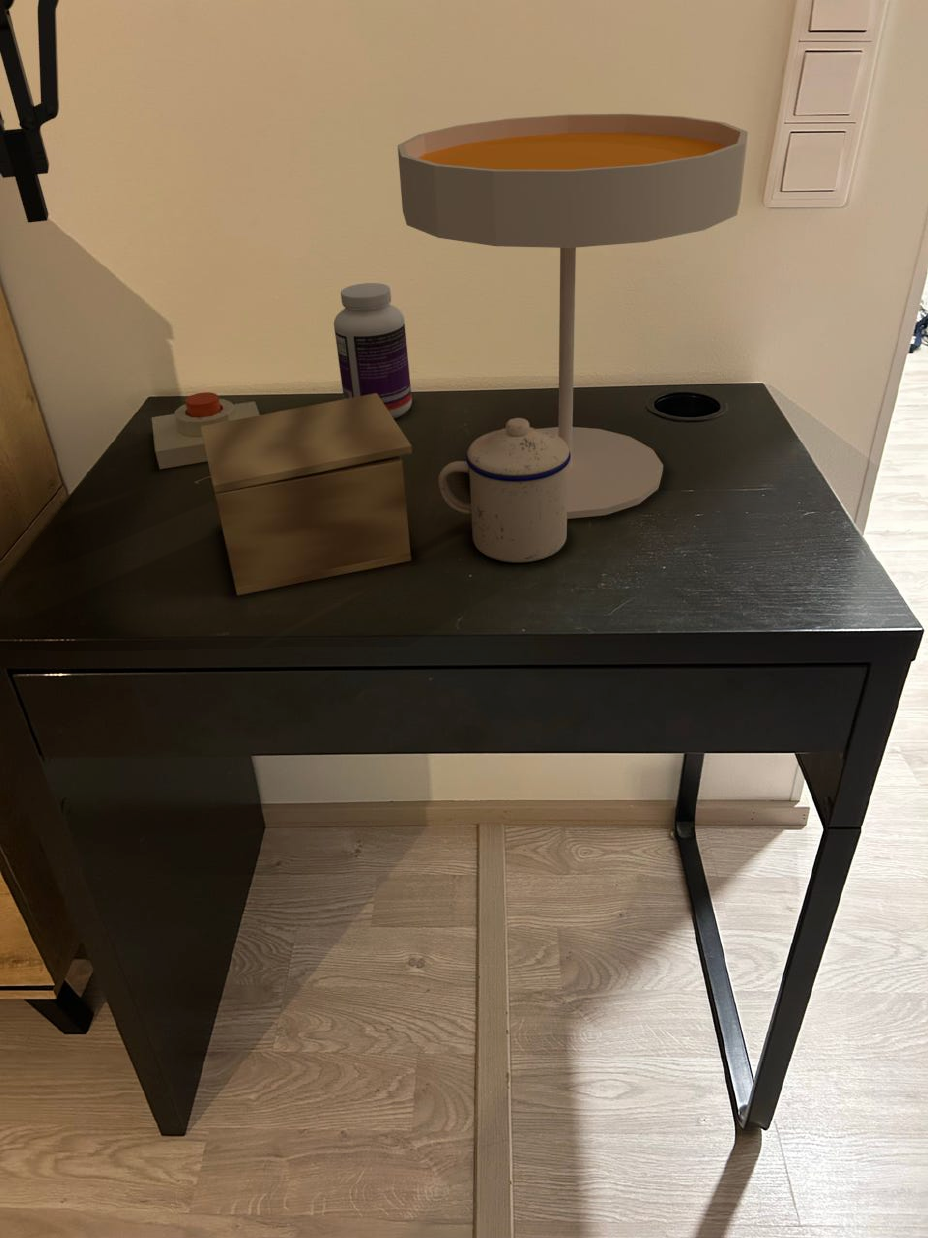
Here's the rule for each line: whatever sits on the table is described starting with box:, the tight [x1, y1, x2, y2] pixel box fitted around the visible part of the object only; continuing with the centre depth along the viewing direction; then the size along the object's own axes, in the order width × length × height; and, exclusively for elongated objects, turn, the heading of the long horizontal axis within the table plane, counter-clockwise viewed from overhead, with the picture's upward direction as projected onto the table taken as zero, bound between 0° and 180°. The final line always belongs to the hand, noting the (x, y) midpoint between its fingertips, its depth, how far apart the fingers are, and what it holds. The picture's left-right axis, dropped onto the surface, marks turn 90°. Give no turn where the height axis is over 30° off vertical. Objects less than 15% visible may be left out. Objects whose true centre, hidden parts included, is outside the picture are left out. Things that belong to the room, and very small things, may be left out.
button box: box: [151, 398, 261, 470], centre depth 108 cm, size 12×10×4 cm
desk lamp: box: [397, 113, 749, 520], centre depth 90 cm, size 30×30×31 cm
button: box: [184, 391, 221, 417], centre depth 107 cm, size 4×4×2 cm
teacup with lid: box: [437, 417, 571, 563], centre depth 85 cm, size 12×9×12 cm
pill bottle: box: [333, 282, 413, 420], centre depth 110 cm, size 8×8×14 cm
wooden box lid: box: [200, 393, 413, 494], centre depth 83 cm, size 16×13×1 cm
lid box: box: [213, 456, 412, 596], centre depth 86 cm, size 16×13×10 cm
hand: (38, 217), depth 79 cm, fingers closed
